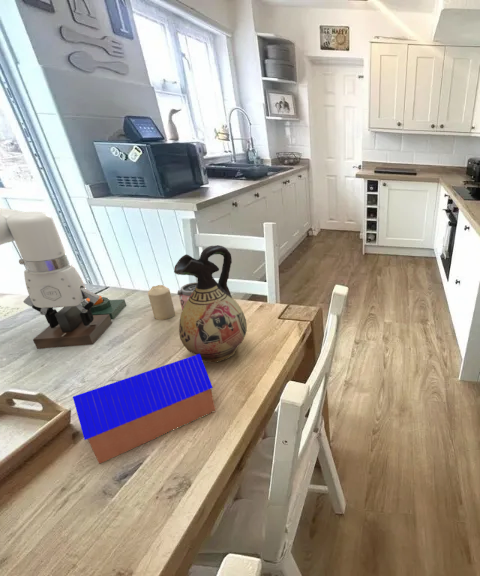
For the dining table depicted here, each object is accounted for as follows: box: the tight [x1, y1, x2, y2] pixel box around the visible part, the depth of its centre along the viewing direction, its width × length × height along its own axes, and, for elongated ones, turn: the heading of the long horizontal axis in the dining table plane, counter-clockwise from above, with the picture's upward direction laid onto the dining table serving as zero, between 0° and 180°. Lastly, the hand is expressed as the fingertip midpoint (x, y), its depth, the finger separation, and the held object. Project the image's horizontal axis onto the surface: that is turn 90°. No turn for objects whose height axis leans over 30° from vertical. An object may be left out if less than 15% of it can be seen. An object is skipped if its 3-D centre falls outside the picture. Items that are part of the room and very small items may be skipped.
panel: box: [32, 314, 113, 350], centre depth 89 cm, size 12×11×3 cm
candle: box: [147, 284, 176, 321], centre depth 99 cm, size 6×6×10 cm
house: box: [72, 354, 216, 464], centre depth 64 cm, size 12×20×12 cm, turn 132°
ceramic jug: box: [173, 244, 248, 363], centre depth 81 cm, size 17×15×30 cm
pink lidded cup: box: [176, 281, 198, 312], centre depth 97 cm, size 9×8×12 cm
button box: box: [80, 296, 127, 321], centre depth 99 cm, size 11×9×4 cm
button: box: [85, 295, 103, 305], centre depth 98 cm, size 4×4×2 cm
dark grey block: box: [55, 306, 82, 332], centre depth 87 cm, size 6×2×6 cm, turn 14°
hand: (72, 323), depth 88 cm, fingers open, 6 cm apart
